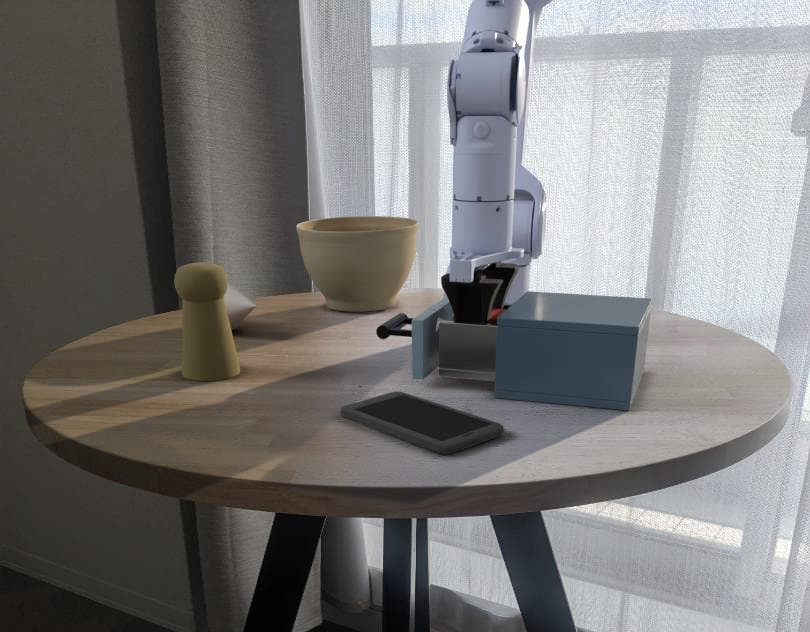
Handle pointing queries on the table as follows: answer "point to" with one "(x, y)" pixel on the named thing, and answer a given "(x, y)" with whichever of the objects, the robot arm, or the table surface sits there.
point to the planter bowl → (359, 259)
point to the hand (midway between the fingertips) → (478, 343)
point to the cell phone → (422, 422)
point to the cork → (205, 323)
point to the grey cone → (237, 305)
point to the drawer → (446, 343)
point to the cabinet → (572, 349)
